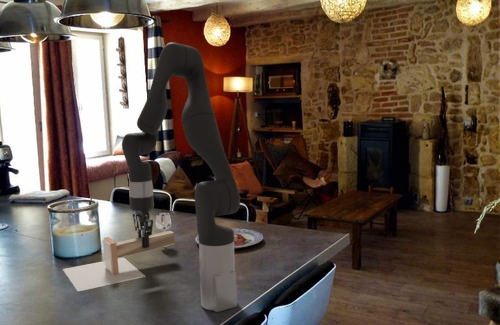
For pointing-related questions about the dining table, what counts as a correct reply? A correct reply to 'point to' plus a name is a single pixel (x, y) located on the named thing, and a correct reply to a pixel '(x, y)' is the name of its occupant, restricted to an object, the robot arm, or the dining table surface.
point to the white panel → (101, 274)
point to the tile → (110, 255)
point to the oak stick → (136, 243)
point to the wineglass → (163, 222)
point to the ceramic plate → (243, 237)
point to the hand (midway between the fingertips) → (143, 246)
